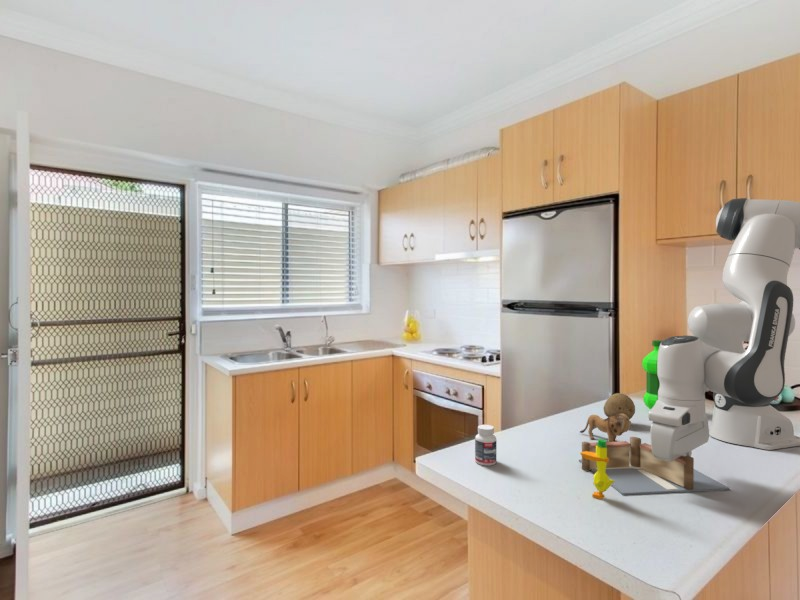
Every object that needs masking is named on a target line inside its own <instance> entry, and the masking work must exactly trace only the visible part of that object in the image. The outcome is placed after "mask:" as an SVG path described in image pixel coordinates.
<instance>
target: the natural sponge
mask: <svg viewBox="0 0 800 600" xmlns="http://www.w3.org/2000/svg"><path fill="white" fill-rule="evenodd" d="M603 413H604V415H605V416H606V417H607V418H608V417H612V416H614V415H617V414H626V415H627V417H629V421H631V420H632V418H633V416H634V415H635V414H636V405H635V402H634V401H633V399H632V398H631V397H630V396H628V395H627V394H624V393H619V392H615V393H614V394H611V395H610V396H609V397H608V398H607V399H606V401H605V403H604V405H603Z"/></svg>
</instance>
